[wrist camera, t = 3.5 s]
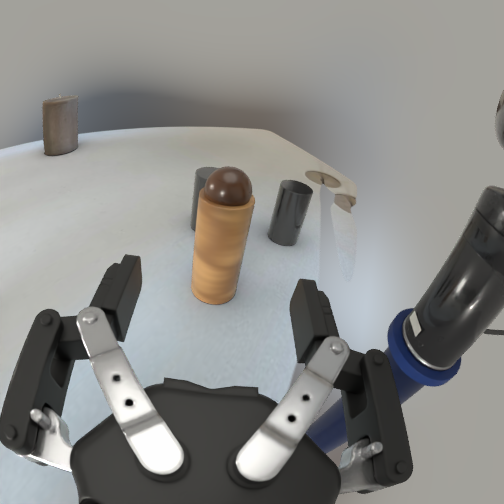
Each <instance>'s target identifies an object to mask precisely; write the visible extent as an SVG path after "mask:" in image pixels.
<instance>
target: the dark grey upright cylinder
mask: <svg viewBox="0 0 504 504" xmlns="http://www.w3.org/2000/svg"><path fill="white" fill-rule="evenodd" d="M312 194H313V190H312V189H311V188H310V187H309V186H307V185H306V184H303V183H301V182H298V181H293V180H284V181H282V182H281V184H280V188H279V191H278V195H277V199H276V203H275V207H274V211H273V215H272V219H271V222H270V226H269V230H268V237H269V238H270V239H271V240H272V241H273V242H275V243H277V244H280V245H284V246H291V245H294V244H296V242H297V240H298V237H299V234H300V231H301V228H302V225H303V222H304V219H305V216H306V213H307V209H308V206H309V203H310V200H311V197H312Z"/></svg>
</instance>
